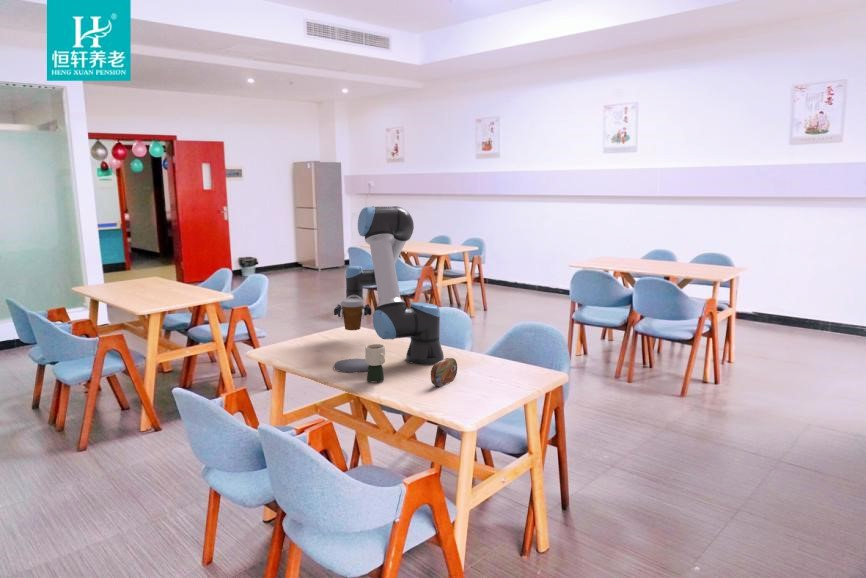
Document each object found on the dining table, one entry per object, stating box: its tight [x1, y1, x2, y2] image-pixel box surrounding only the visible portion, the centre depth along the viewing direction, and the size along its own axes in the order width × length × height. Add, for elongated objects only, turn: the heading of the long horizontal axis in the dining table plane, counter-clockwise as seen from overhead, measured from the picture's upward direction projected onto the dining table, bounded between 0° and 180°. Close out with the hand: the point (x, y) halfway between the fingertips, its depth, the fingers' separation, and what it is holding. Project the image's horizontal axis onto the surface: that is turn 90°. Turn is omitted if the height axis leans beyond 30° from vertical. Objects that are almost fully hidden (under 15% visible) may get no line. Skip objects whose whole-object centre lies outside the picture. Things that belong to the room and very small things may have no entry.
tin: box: [430, 357, 458, 388], centre depth 212 cm, size 15×3×8 cm, turn 148°
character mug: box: [364, 343, 386, 383], centre depth 213 cm, size 11×7×13 cm, turn 39°
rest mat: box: [333, 358, 369, 374], centre depth 231 cm, size 16×16×1 cm
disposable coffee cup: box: [340, 298, 365, 331], centre depth 243 cm, size 10×10×12 cm
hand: (352, 315), depth 238 cm, fingers closed on disposable coffee cup, 8 cm apart
